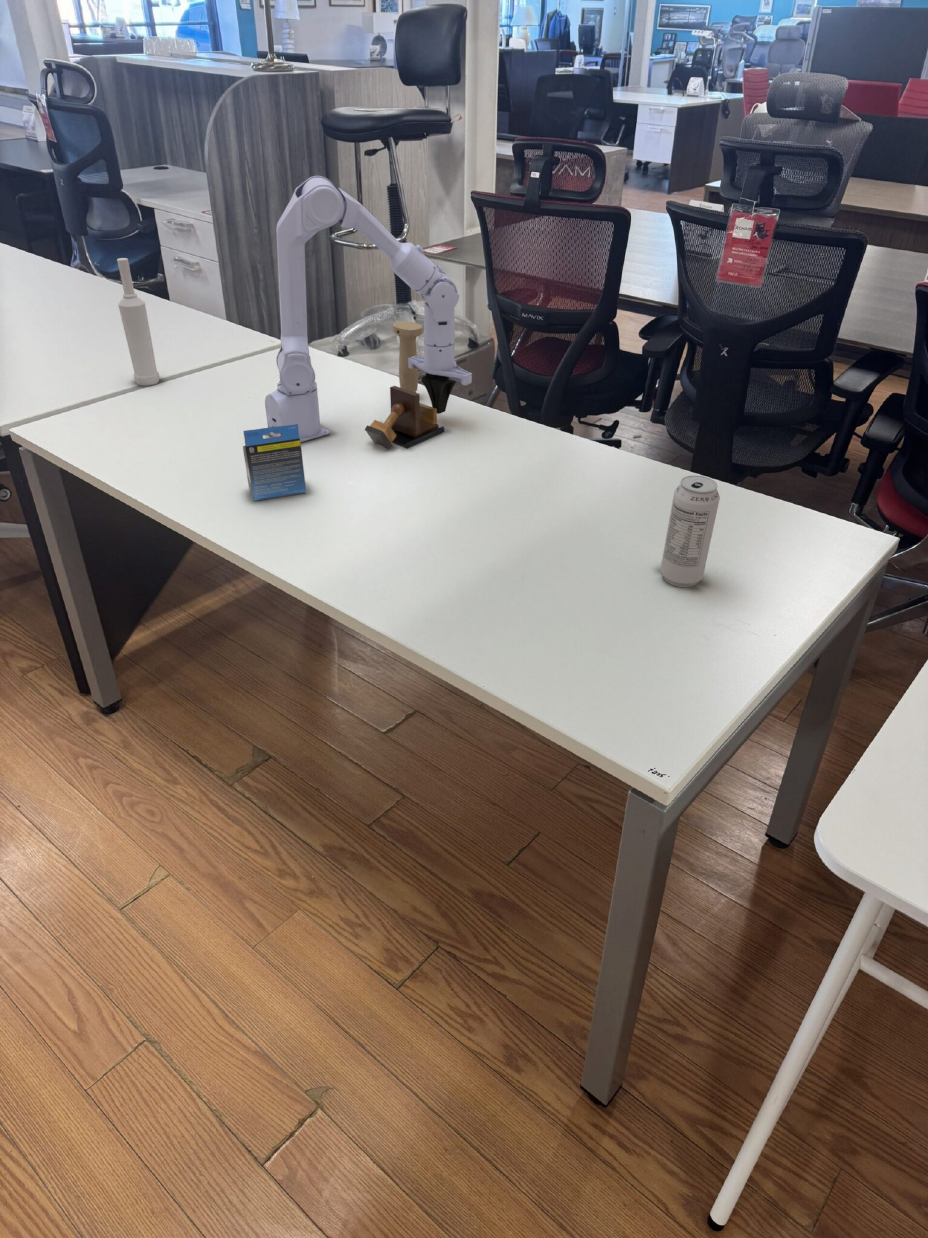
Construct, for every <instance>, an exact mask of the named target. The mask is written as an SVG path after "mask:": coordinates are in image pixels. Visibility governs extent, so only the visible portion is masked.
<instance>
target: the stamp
mask: <svg viewBox="0 0 928 1238" xmlns="http://www.w3.org/2000/svg"><path fill="white" fill-rule="evenodd" d="M404 412H405V408H404V406H403V405H402V404H400V403H397V404H395V405H394V406H393V407H392V412H391V411H390V413H389V415H388V416H387V417H386V419H385V420H384V422H383V421H379V420H377V419H374V420H373V421H372V423H371V424H370V425H365V428H364V432H366V434H367V435H368V436H369V438H370V439H371V440H372V442H373V443H374V445H377V446H381V447H382V448H385V449H388V450H391V449H392V448H393V443H392V441H393V440H394V439H395V437H396V434H395V433H394V431H393V430H392V428H391V427H392V426H393V424H394V423H395V422H396V420H397V419H398V417H400V416H402V415H403V414H404Z"/></svg>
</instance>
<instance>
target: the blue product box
mask: <svg viewBox="0 0 928 1238" xmlns="http://www.w3.org/2000/svg"><path fill="white" fill-rule="evenodd" d="M271 432H273V433H274V434H276V433H280V434H281V436H279V437H272V436H271V437H267V438H264V436H268V435H269V434H270V433H271ZM269 436H270V435H269ZM243 439H244V445H243V446H242V451H243V458H244V465H245V471H246V477H247V484H248V490H249V494H250V496H251V498H252V500H253V501H254V502H256V501H257V502H258V501H261V500H267V499H273V498H279V497H280V498H281V497H285V496H293V495H298V494H305V493H307V486H306V478H305V477H306V476H305V469H304V468H305V467H304V461H303V451H302V444H301V443H302V442H300V438H299V430H298V424H293V425H286V426H277V427H269V428H268V427H261V428H256V429H246V430H243Z"/></svg>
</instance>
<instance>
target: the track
mask: <svg viewBox="0 0 928 1238" xmlns="http://www.w3.org/2000/svg"><path fill="white" fill-rule="evenodd" d="M391 428H392V427H391ZM392 430H393V431H394V433H395V434H396V437H395V439H394V440H393V441H392V443H391V444H395V445H396V446H397V445H398V446H400V447H403V448H405V449H410V448H411V447H413V446H416V445H418V444H421V443H422V442H425V441H427V440H430V439H431V438H433V437H436V436H439V435H441V434H443V433H444V432H445V426H441V427H438V428H435V429H433V430H431V431H429V432H426V433H424V434H422V435H420V436H419V437H417V438H415V437H412V436H410V435H407V434H404V433H402V432H399V431H396V430H394V429H392Z"/></svg>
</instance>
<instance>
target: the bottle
mask: <svg viewBox="0 0 928 1238" xmlns="http://www.w3.org/2000/svg"><path fill="white" fill-rule="evenodd" d="M116 261H117V266H118V267H117V268H118V270H119V274H120V280H121V284H122V285H121V286H122V290H123V294H122V299H120V301H119V302H118V303H117V304H118V310H119V315H120V318H121V323H122V327H123V330H124V335H125V340H126V344H127V348H128V351H129V355H130V360H131V364H132V369H133V379H134V381H135V383H136V385H137V386H142V387H149V386H154V385H157V384H158V383H160V373H159V371H158V367H157V363H156V358H155V352H154V346H153V341H152V336H151V330H150V324H149V317H148V313H147V308H146V301H144V300H143V299H142V298H140V297H139V296H138V294H137V293H136V292H135V288H134V283H133V278H132V274H131V267H130V263H129V258H127V257H119V258H117V259H116Z"/></svg>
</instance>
